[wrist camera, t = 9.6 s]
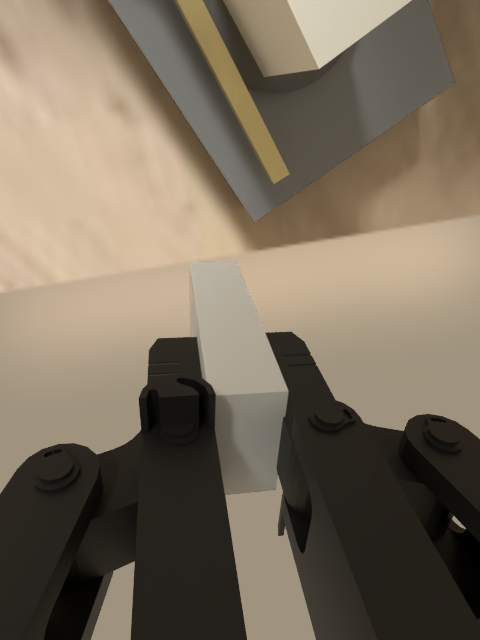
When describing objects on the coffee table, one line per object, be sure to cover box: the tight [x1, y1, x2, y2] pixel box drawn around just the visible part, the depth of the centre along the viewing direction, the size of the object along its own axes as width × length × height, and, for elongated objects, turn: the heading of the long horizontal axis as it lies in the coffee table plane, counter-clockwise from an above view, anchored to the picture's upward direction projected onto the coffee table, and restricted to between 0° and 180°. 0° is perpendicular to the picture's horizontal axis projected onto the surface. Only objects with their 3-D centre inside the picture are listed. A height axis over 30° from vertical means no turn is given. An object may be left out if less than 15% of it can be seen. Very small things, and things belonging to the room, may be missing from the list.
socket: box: [108, 0, 455, 223], centre depth 23 cm, size 18×14×5 cm
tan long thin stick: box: [174, 0, 290, 184], centre depth 20 cm, size 15×2×1 cm, turn 31°
